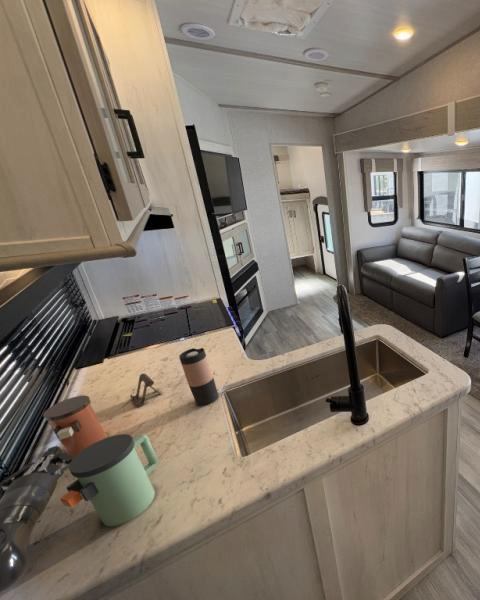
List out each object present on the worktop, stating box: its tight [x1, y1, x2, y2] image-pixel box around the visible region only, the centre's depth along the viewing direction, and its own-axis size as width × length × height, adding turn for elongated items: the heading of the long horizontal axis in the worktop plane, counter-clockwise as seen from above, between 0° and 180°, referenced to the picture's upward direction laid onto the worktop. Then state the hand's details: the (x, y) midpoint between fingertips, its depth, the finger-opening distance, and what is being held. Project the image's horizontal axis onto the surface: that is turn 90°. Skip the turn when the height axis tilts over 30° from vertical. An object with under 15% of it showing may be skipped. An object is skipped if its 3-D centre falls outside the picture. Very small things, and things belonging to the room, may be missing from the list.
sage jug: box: [65, 433, 159, 527], centre depth 73 cm, size 16×11×17 cm
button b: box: [57, 427, 74, 440], centre depth 86 cm, size 2×2×2 cm
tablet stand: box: [129, 373, 162, 408], centre depth 115 cm, size 9×8×8 cm
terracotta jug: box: [42, 395, 108, 457], centre depth 93 cm, size 14×10×15 cm
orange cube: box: [59, 490, 84, 508], centre depth 64 cm, size 2×2×2 cm
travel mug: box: [178, 347, 219, 407], centre depth 110 cm, size 8×8×20 cm
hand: (54, 449), depth 80 cm, fingers closed
